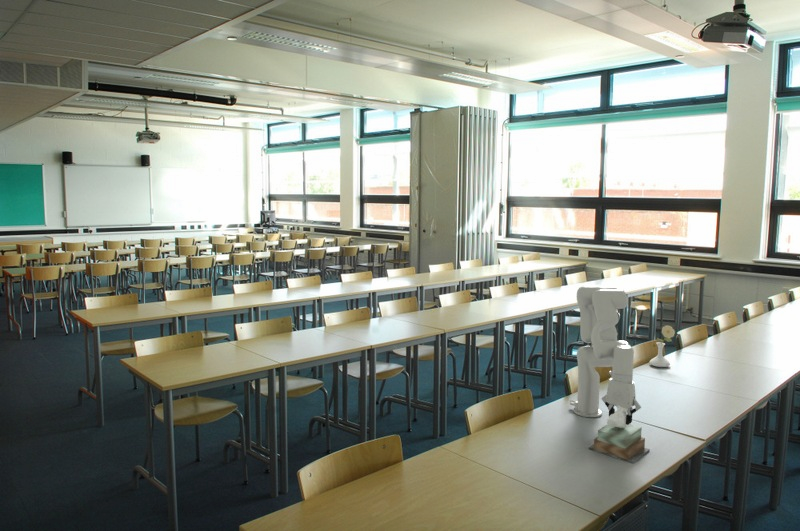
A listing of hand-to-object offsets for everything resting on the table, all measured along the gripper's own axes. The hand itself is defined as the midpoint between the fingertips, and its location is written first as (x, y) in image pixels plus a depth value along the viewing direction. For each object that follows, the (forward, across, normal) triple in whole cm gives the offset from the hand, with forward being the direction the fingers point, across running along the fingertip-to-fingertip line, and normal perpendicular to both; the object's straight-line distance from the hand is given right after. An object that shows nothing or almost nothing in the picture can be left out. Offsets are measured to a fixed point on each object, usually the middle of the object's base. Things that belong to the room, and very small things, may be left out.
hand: (620, 421), depth 229 cm
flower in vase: (+13, -33, +132) cm, 137 cm away
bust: (+2, 0, 0) cm, 2 cm away
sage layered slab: (+12, 0, 0) cm, 12 cm away
